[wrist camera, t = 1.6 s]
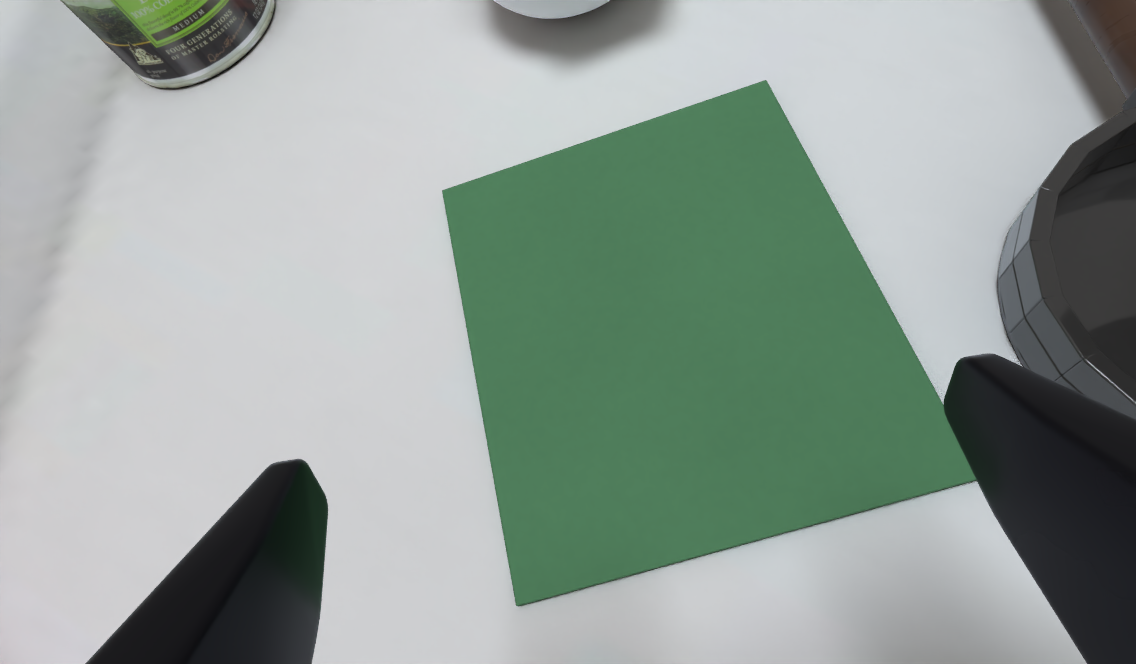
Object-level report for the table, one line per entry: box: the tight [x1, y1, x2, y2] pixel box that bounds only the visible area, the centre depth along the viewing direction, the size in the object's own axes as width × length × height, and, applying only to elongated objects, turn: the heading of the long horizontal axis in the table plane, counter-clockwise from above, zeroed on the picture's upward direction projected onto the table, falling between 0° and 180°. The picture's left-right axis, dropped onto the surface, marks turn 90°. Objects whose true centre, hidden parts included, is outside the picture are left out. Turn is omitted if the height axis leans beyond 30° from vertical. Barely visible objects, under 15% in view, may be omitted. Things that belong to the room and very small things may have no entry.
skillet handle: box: [1068, 0, 1136, 111], centre depth 25 cm, size 12×2×2 cm, turn 3°
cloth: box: [442, 80, 976, 606], centre depth 26 cm, size 19×16×1 cm
